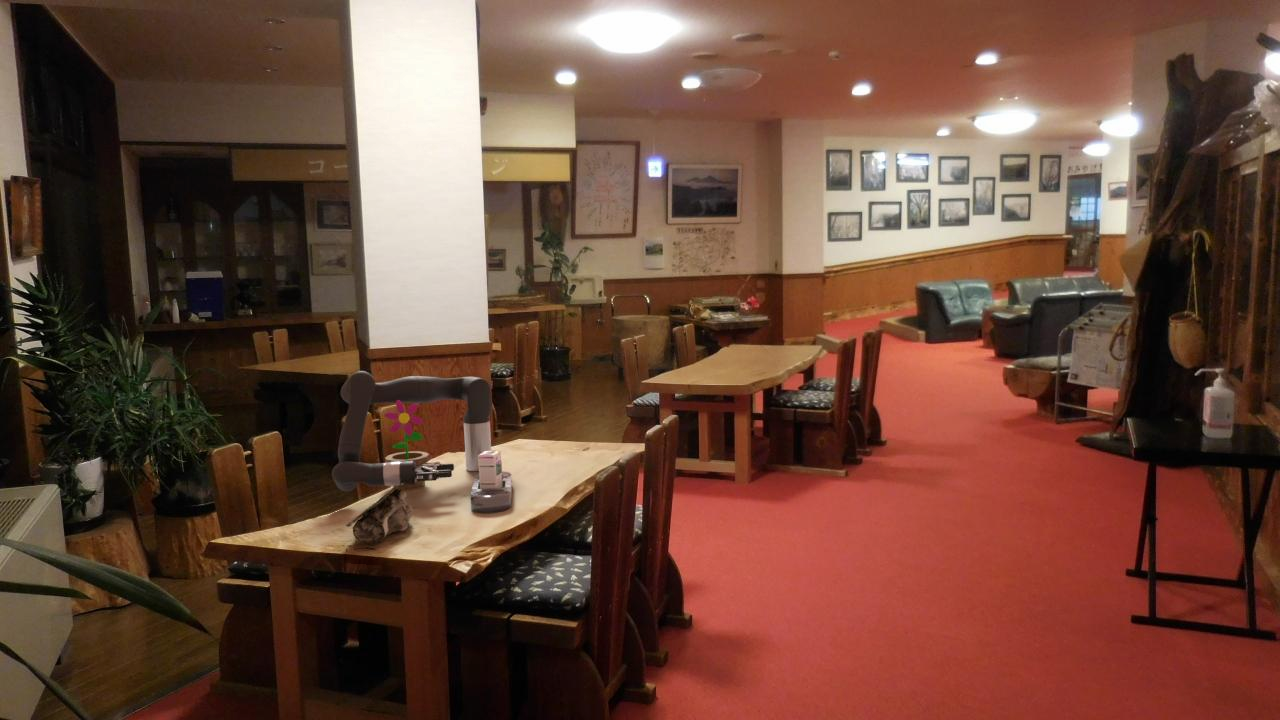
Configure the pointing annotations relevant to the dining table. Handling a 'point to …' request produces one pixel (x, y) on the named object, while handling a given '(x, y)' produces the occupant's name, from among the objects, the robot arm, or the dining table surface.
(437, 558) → the dining table surface
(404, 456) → the flowerpot
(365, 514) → the hollow geode rock
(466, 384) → the robot arm
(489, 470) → the syrup box
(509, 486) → the link
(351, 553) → the dining table surface
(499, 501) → the link
